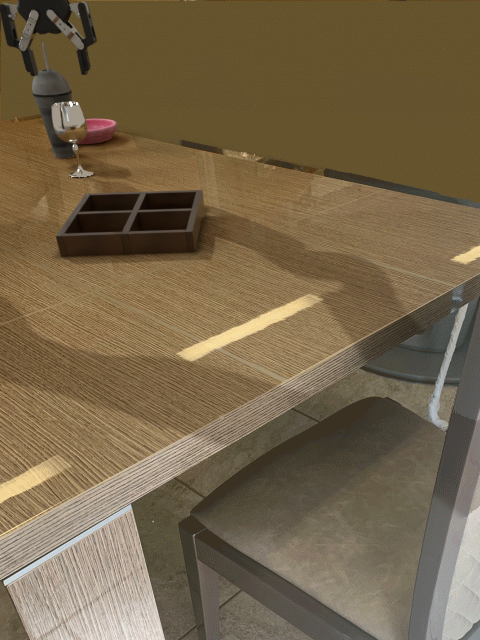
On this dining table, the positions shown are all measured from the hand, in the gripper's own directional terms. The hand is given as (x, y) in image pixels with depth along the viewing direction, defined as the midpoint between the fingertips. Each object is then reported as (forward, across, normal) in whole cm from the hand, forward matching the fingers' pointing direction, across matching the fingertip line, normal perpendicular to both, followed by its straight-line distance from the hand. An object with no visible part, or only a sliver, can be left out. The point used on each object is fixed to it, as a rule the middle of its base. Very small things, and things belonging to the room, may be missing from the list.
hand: (60, 74), depth 110 cm
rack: (+17, +16, -34) cm, 41 cm away
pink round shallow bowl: (+17, -4, +27) cm, 32 cm away
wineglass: (+17, 0, 0) cm, 17 cm away
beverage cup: (+17, -6, +14) cm, 23 cm away
